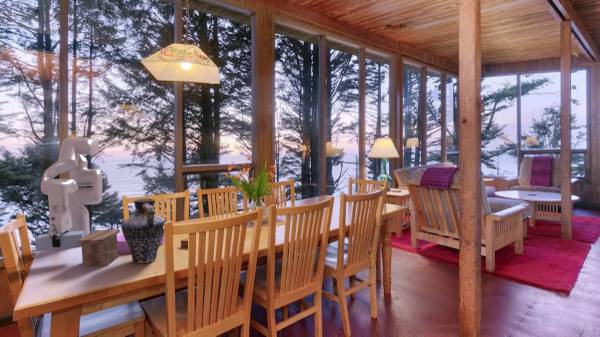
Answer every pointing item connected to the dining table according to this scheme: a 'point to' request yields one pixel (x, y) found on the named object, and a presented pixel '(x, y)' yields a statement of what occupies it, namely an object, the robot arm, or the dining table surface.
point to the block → (65, 241)
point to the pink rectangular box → (124, 246)
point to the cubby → (99, 248)
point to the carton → (184, 242)
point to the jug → (143, 231)
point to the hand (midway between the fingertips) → (61, 243)
